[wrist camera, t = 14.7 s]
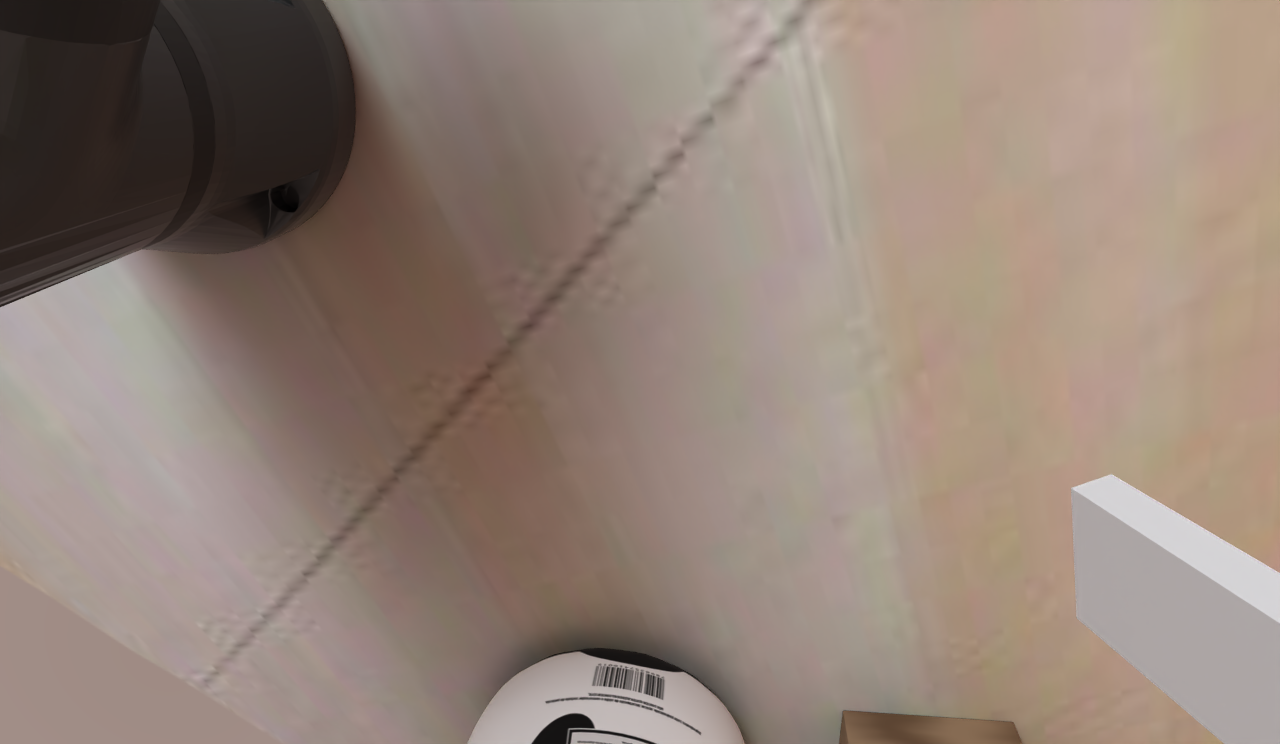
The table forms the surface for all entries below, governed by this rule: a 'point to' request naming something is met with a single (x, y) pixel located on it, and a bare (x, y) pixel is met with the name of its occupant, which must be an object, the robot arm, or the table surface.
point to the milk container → (605, 704)
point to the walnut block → (922, 730)
